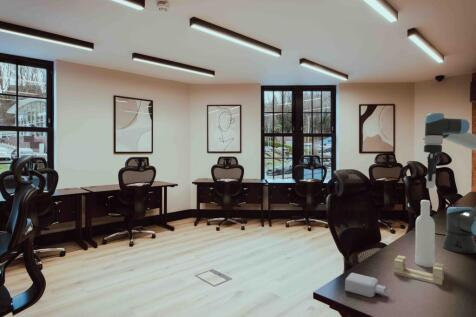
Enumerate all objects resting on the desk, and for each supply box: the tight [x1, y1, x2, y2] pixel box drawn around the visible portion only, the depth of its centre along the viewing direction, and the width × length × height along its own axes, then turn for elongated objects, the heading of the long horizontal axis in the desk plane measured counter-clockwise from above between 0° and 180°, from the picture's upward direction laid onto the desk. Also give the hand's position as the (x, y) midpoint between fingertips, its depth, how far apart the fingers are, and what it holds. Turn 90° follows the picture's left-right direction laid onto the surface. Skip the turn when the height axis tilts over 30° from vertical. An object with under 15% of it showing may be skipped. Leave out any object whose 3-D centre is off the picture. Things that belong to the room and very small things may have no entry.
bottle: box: [414, 199, 436, 268], centre depth 139 cm, size 8×8×30 cm
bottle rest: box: [393, 255, 445, 286], centre depth 126 cm, size 8×17×6 cm, turn 51°
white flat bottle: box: [344, 272, 393, 298], centre depth 111 cm, size 5×9×15 cm
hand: (430, 187), depth 148 cm, fingers open, 13 cm apart
